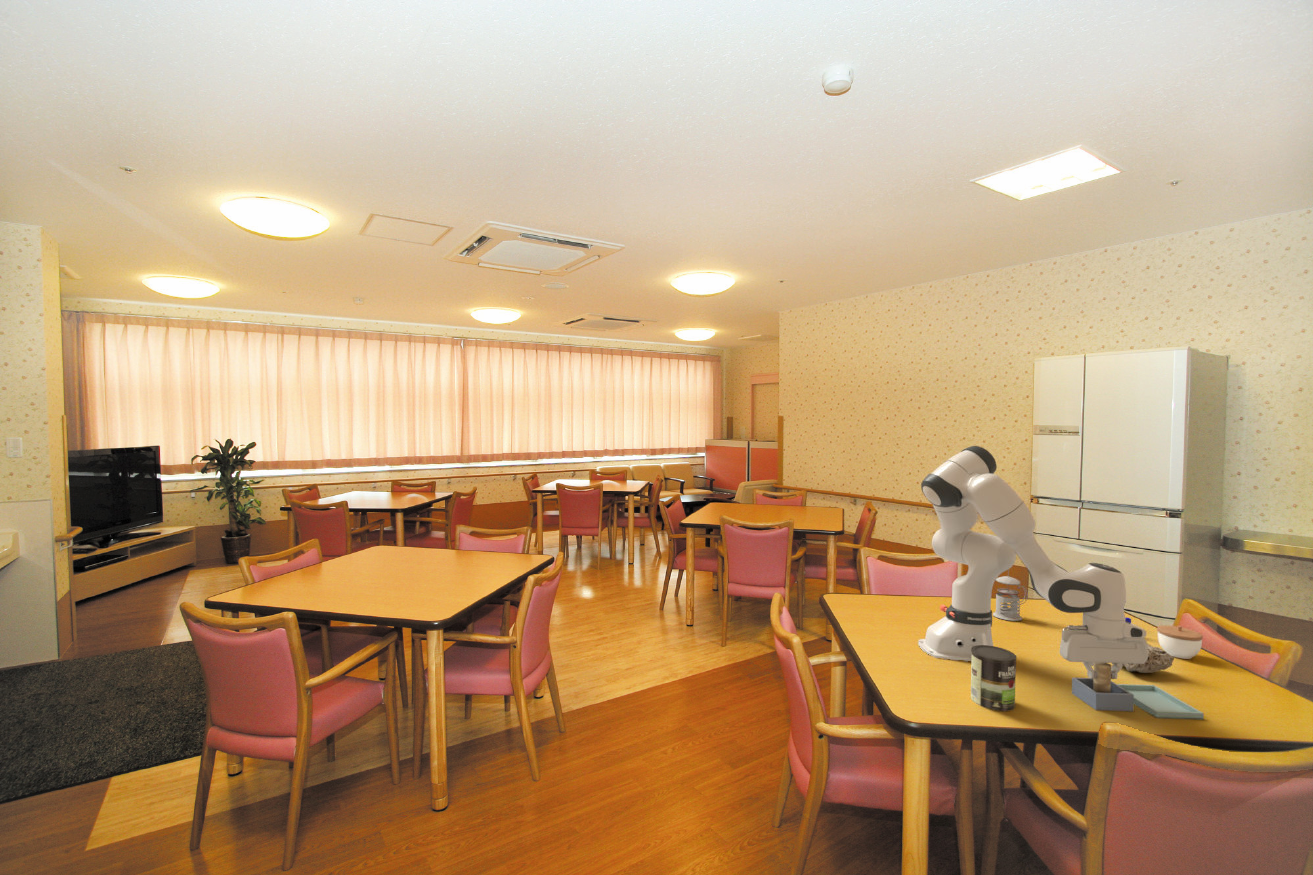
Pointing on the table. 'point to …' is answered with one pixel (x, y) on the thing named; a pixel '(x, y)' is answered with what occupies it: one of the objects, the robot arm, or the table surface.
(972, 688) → the coffee can
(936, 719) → the table surface
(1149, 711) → the tray
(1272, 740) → the table surface
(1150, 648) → the pumice stone
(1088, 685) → the grey open box
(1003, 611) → the french press
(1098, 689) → the dowel
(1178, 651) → the lidded jar
